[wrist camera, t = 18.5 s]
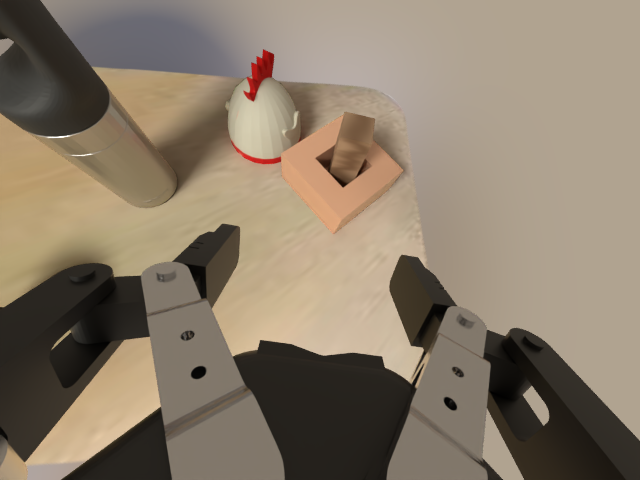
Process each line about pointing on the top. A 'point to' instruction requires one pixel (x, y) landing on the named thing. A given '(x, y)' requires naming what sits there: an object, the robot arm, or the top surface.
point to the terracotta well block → (323, 190)
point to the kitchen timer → (262, 115)
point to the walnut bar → (351, 147)
